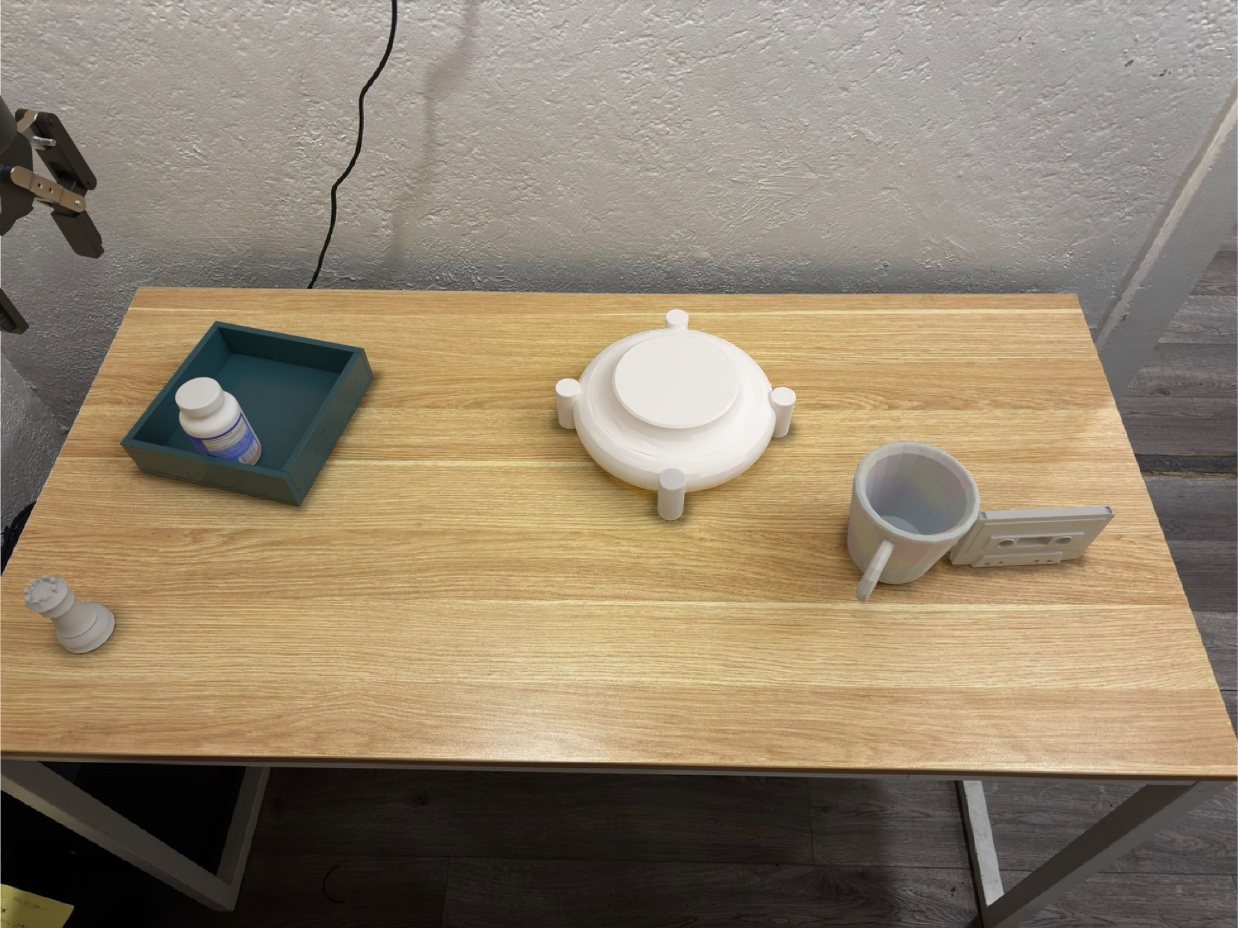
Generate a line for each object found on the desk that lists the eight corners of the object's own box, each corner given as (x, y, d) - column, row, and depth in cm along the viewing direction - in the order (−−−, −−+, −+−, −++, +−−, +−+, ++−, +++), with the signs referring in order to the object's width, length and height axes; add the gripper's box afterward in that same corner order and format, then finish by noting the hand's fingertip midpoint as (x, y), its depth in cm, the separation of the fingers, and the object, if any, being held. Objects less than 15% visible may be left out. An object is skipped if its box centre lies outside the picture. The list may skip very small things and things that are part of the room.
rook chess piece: (73, 665, 72) (19, 624, 65) (57, 629, 74) (2, 585, 68) (125, 635, 74) (77, 591, 67) (107, 600, 76) (59, 554, 69)
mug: (961, 535, 79) (999, 473, 71) (901, 660, 71) (935, 606, 63) (858, 486, 82) (883, 422, 74) (791, 600, 75) (810, 542, 67)
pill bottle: (203, 447, 85) (160, 383, 78) (256, 428, 87) (220, 363, 79) (214, 485, 82) (170, 422, 75) (268, 465, 84) (232, 401, 76)
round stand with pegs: (545, 514, 81) (539, 471, 75) (569, 339, 95) (566, 290, 89) (795, 526, 80) (808, 483, 74) (781, 347, 94) (791, 298, 88)
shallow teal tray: (299, 506, 82) (284, 479, 78) (141, 471, 84) (119, 443, 81) (374, 377, 92) (364, 347, 88) (231, 350, 94) (215, 320, 91)
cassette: (1073, 546, 78) (1111, 500, 72) (1080, 564, 77) (1120, 518, 71) (946, 552, 78) (973, 506, 72) (951, 570, 77) (979, 524, 70)
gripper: (-60, 10, 53) (73, 225, 66) (-257, 127, 44) (-61, 348, 57) (42, 23, 52) (157, 240, 65) (-141, 146, 43) (33, 367, 56)
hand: (54, 290), depth 61 cm, fingers open, 8 cm apart
